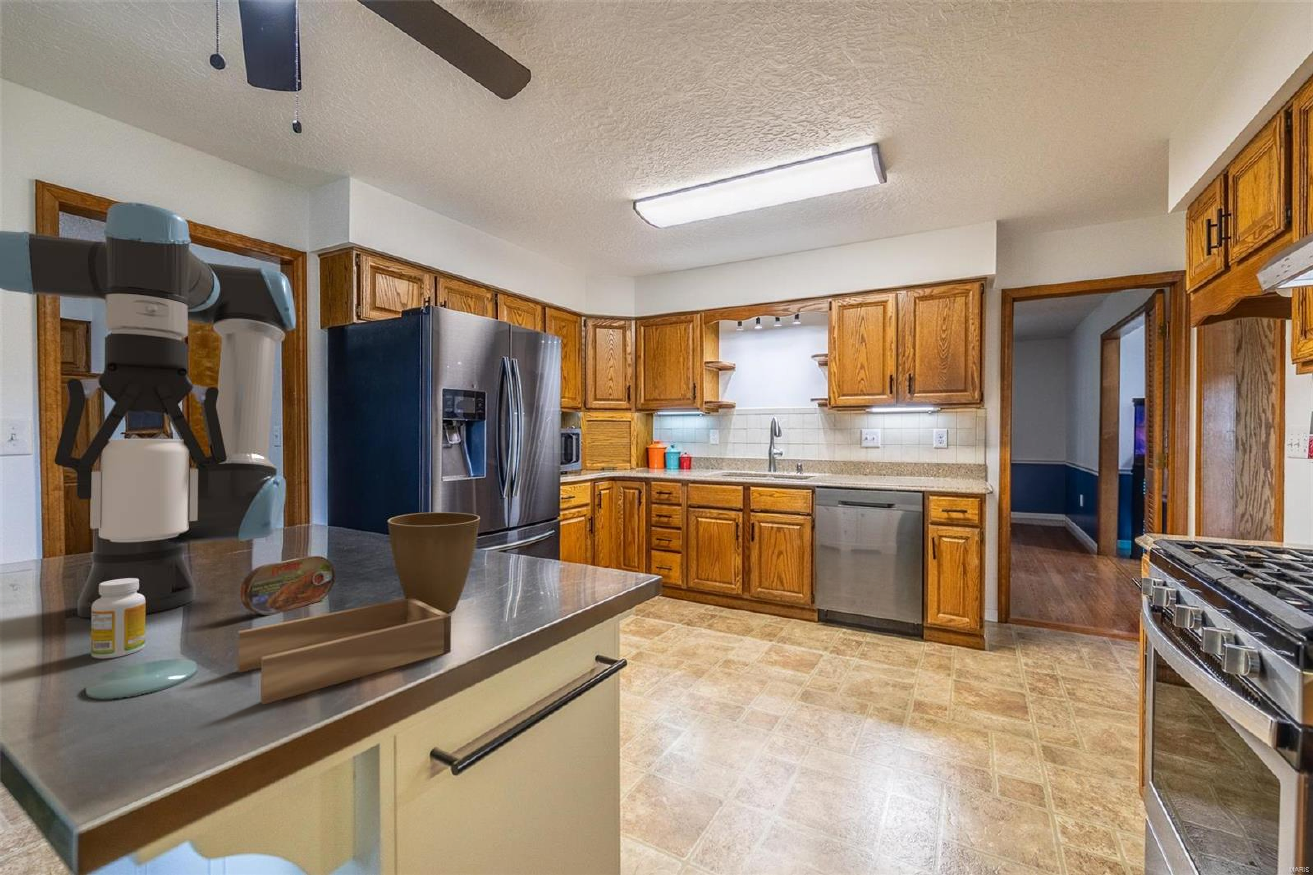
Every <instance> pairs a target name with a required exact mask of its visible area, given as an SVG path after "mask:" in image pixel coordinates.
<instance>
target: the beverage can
mask: <svg viewBox="0 0 1313 875" xmlns="http://www.w3.org/2000/svg"><path fill="white" fill-rule="evenodd" d="M98 468H99V469H98V471H101V516H100V528H99V537H101V538H104V539H110V541H112V542H141V541H152V540H161V539H167V538H172V537H176V536H178V534H180V533H183V532H186V531H187V530H188V529H189V468H190V456H189V449H188V448H187V446H186V445H185V444H184V439H180V438H172V439H171V438H110V439H109V441H108V443H107V444H106V446H105V448H104V449H103V451H102V452H101V454H100V456H99V466H98Z"/></svg>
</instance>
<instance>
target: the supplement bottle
mask: <svg viewBox="0 0 1313 875" xmlns="http://www.w3.org/2000/svg"><path fill="white" fill-rule="evenodd" d="M138 589H139V579H137V578H125V579H116V580H110V581H106V582H102V583H100V584H99V594H100V595H101V598H100V599H97V600H96V601H95V602H94V603H93V604H92V609H91V614H92V615H91V616H92V617H91V618H90V620H91V622H90V623H91V624H90V626H91V630H90V633H91V634H90V639H91V640H90V642H91V643H90V651H91V652H90V654H91V655H90V656H91V657H92V658H94V659H100V660H102V659H113V658H119V657H123V656H128V655H130V654H134V653H137V652H139V651H141V650H142V649H144V647H145V645H146V614H145V597H144V596H143V595H142V594H138V593H137V590H138Z"/></svg>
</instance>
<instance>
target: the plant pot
mask: <svg viewBox="0 0 1313 875" xmlns="http://www.w3.org/2000/svg"><path fill="white" fill-rule="evenodd" d="M480 520H481V517H480V515H477V514H471V513H466V512H465V513H463V512H443V511H442V512H441V511H439V512H420V513H419V512H418V513H409V514H402V515H397V516H394V517H391V518H389V519H387V526H388V533H389V541H390V547H391V553H392V558H393V561H394V566H395V570H396V573H397V574H396V575H397V577H398V580H399V583H400V587H401V590H402V593H403V595H404V598H409V597H412V598H414V599H416V600H418V601H420V602H423V603H425V604H427V605H429V606H431V607H433V608H435V609H438V610H440V611H442V612H444V613H446V614H448V613H450V612H453V611H455V609H456V608H457V607H458V604H459V601H460V598H461V596H462V593H463V591H464V588H465V586H466V585H465V584H466V582H467V579H468V576H469V572H470V568H471V565H472V562H473V558H474V554H475V550H476V544H477V539H478V535H479V534H478V533H479V529H480V522H481V521H480Z"/></svg>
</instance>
